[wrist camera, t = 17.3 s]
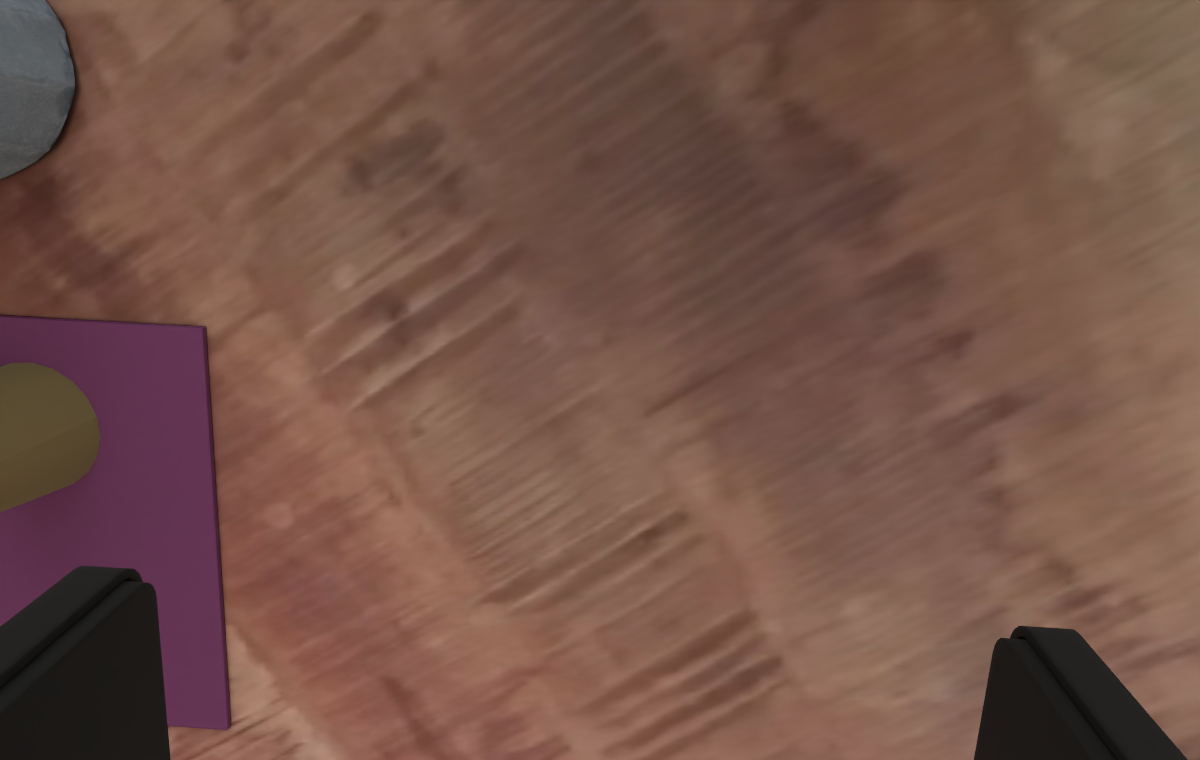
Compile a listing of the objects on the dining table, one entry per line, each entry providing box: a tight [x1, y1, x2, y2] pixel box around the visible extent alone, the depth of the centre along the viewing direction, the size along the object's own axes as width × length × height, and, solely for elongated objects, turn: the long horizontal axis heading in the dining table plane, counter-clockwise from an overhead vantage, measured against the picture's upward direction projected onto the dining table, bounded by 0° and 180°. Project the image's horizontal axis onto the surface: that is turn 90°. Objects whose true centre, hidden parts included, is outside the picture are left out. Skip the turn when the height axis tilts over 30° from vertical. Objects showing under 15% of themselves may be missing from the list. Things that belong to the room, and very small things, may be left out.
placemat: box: [0, 315, 231, 730], centre depth 44 cm, size 20×16×1 cm
